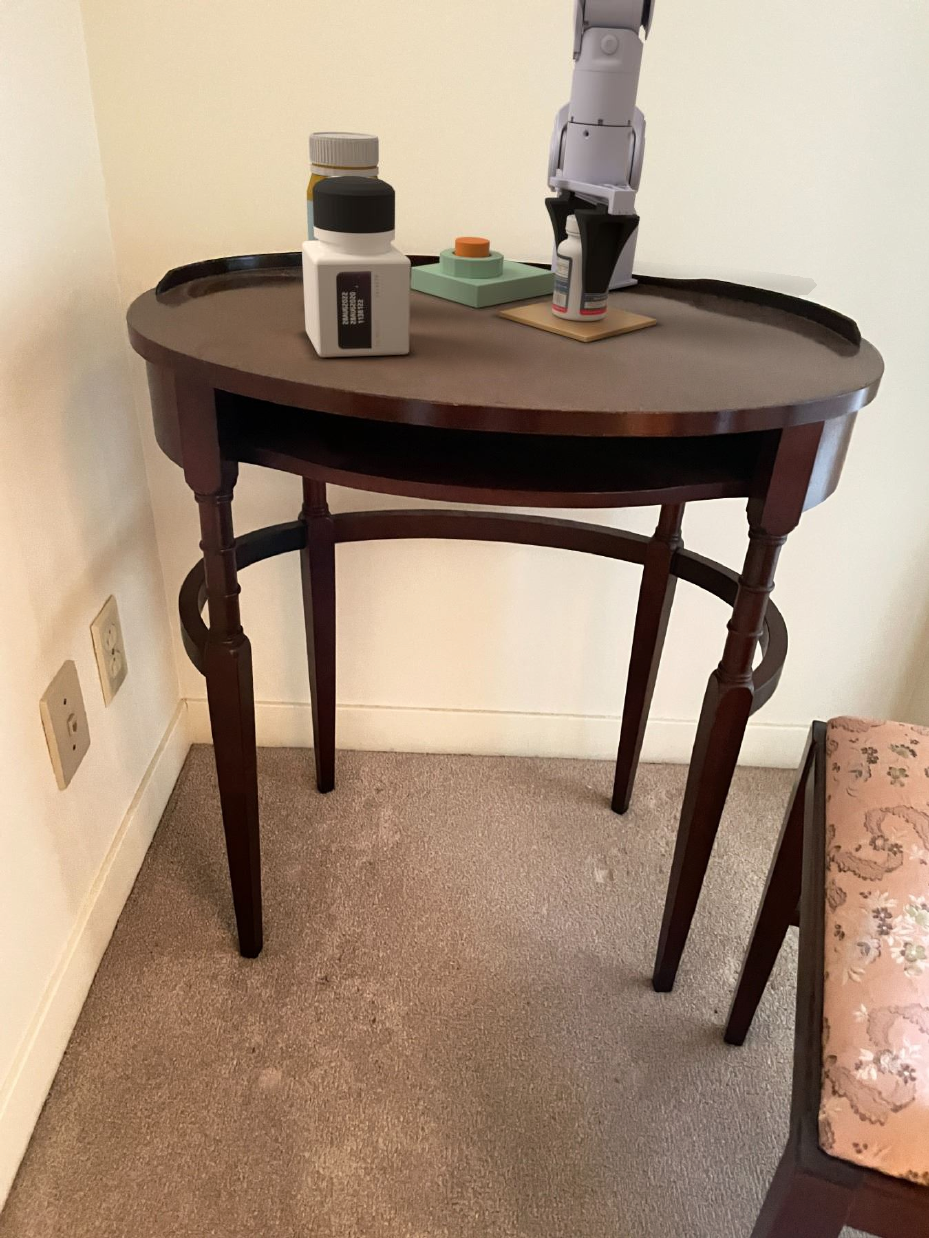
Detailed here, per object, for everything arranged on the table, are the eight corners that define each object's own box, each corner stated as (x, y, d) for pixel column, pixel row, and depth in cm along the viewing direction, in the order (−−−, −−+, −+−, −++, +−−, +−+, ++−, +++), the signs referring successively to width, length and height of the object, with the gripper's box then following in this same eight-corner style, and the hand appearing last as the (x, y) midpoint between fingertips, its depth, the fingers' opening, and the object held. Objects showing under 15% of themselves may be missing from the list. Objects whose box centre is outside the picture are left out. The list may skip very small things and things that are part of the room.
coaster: (569, 301, 95) (570, 296, 94) (655, 324, 88) (656, 319, 88) (498, 316, 88) (499, 311, 88) (586, 342, 82) (586, 337, 81)
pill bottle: (610, 313, 89) (622, 216, 84) (599, 325, 85) (612, 224, 80) (558, 306, 91) (568, 211, 86) (545, 318, 86) (554, 218, 82)
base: (488, 275, 103) (490, 238, 101) (553, 293, 98) (557, 254, 95) (410, 288, 96) (411, 249, 94) (477, 308, 90) (479, 266, 88)
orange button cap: (471, 253, 96) (472, 235, 95) (495, 259, 94) (497, 241, 93) (447, 256, 94) (448, 238, 93) (471, 262, 92) (472, 244, 91)
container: (410, 355, 75) (413, 185, 68) (318, 359, 73) (311, 184, 66) (390, 331, 82) (391, 173, 75) (305, 333, 80) (297, 171, 73)
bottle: (371, 320, 84) (370, 141, 76) (301, 313, 85) (292, 135, 77) (391, 304, 90) (392, 135, 82) (325, 297, 91) (319, 129, 83)
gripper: (531, 115, 84) (519, 268, 91) (588, 130, 72) (569, 303, 79) (601, 118, 85) (583, 268, 93) (667, 133, 74) (641, 302, 81)
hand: (581, 284), depth 86 cm, fingers open, 6 cm apart
